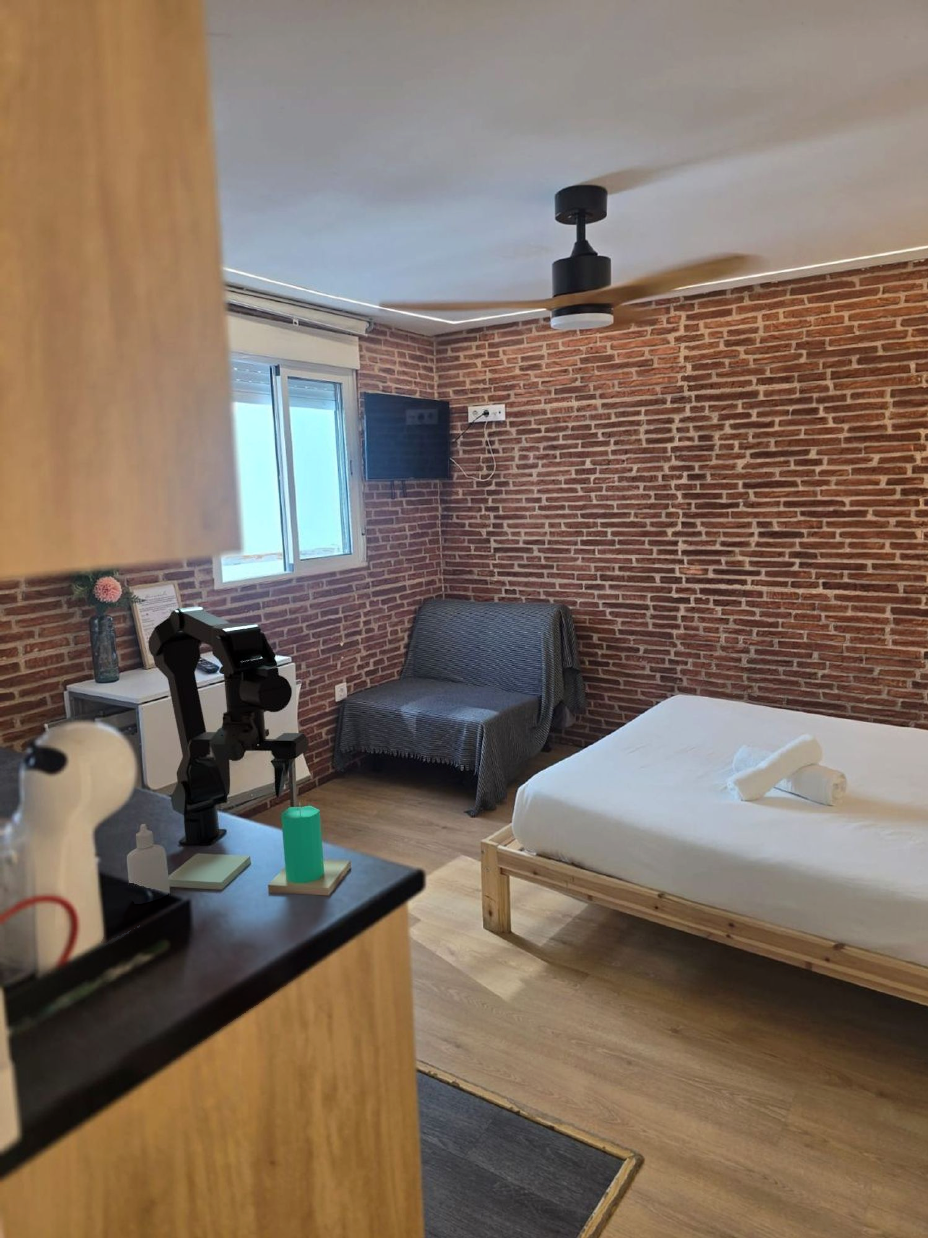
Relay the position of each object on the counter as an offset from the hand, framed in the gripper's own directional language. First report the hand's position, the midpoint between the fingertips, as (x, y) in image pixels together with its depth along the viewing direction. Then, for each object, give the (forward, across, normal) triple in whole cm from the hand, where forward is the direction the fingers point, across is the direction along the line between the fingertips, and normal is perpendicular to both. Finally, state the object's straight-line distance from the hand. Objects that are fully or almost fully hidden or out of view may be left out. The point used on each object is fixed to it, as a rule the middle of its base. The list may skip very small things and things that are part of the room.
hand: (252, 796), depth 134 cm
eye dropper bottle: (+13, -13, -11) cm, 21 cm away
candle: (+12, +10, -3) cm, 16 cm away
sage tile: (+13, -8, -2) cm, 15 cm away
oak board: (+13, +10, -2) cm, 17 cm away
